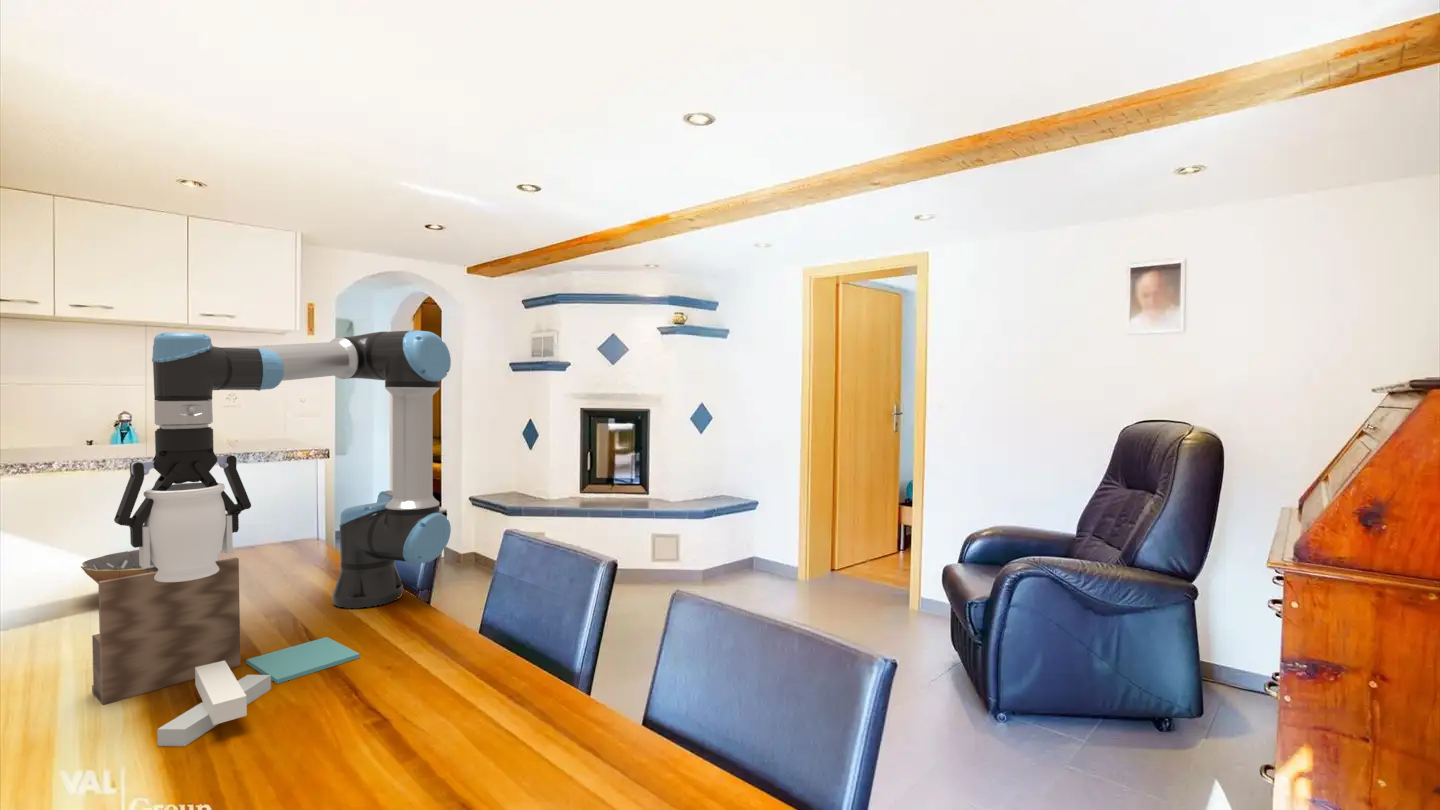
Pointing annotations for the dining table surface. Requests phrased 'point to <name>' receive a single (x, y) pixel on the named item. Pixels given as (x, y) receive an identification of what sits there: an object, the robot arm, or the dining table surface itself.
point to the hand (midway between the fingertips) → (187, 559)
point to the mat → (302, 659)
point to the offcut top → (220, 692)
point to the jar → (186, 531)
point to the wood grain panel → (163, 630)
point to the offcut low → (206, 715)
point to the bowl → (116, 566)
